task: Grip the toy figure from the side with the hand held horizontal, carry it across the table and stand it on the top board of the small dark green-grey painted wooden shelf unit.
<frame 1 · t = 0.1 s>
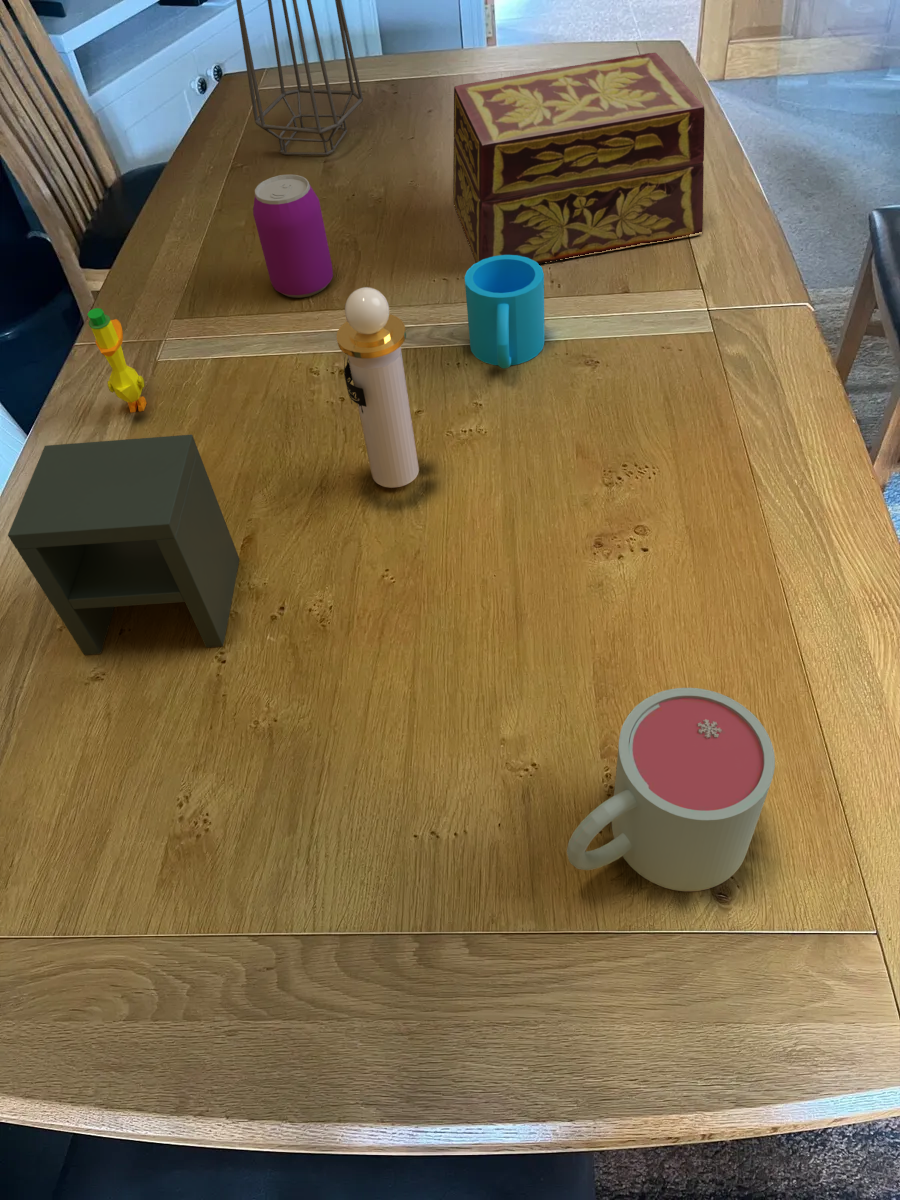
toy figure: (138, 406, 101), on the table
mug: (506, 355, 101), on the table
beverage can: (304, 285, 114), on the table
perfume bottle: (396, 478, 90), on the table
mug 2: (651, 843, 64), on the table
shelf: (164, 605, 82), on the table
decorative box: (572, 221, 119), on the table
geometric lantern: (316, 145, 140), on the table
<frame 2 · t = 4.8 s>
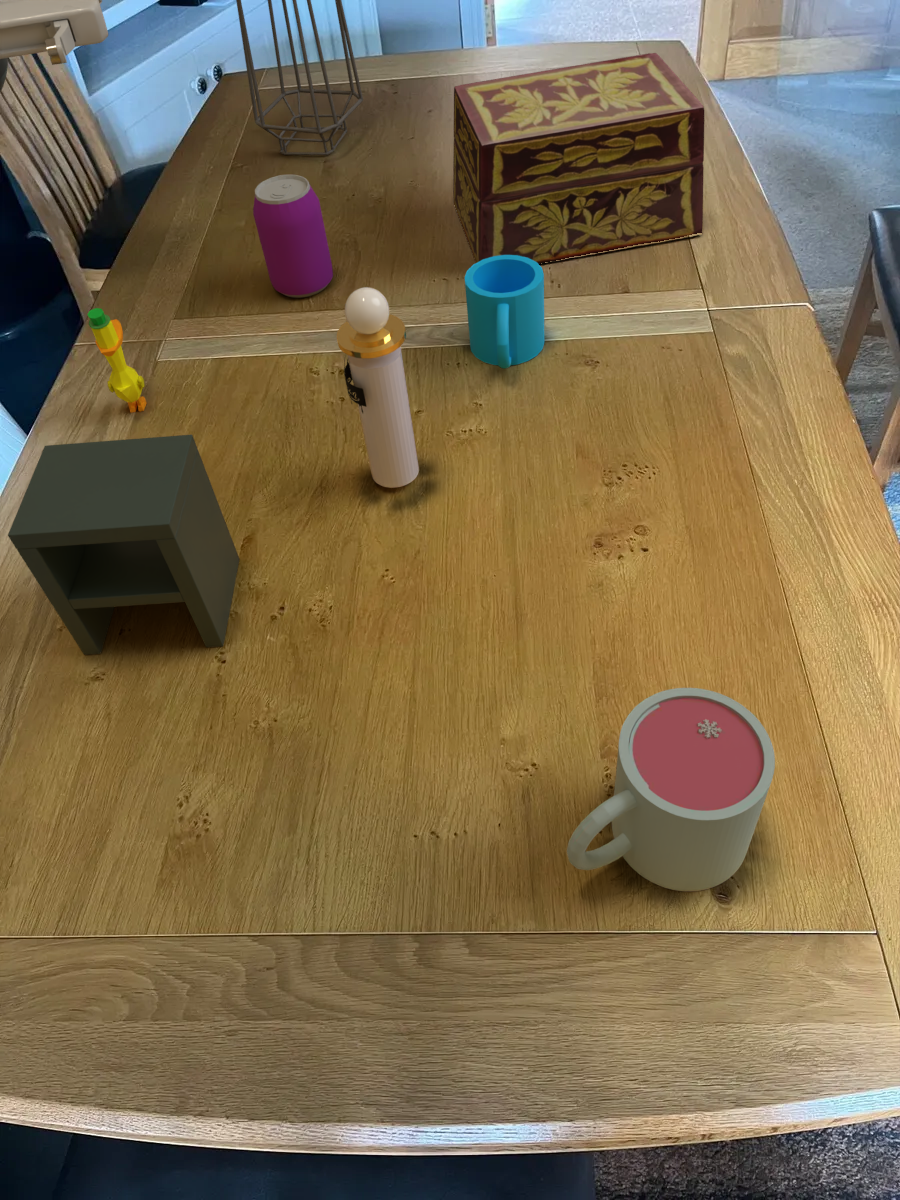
hand: (7, 64, 92), 28 cm above the table, tool horizontal, fingers open, 8 cm apart
nothing on the table moved.
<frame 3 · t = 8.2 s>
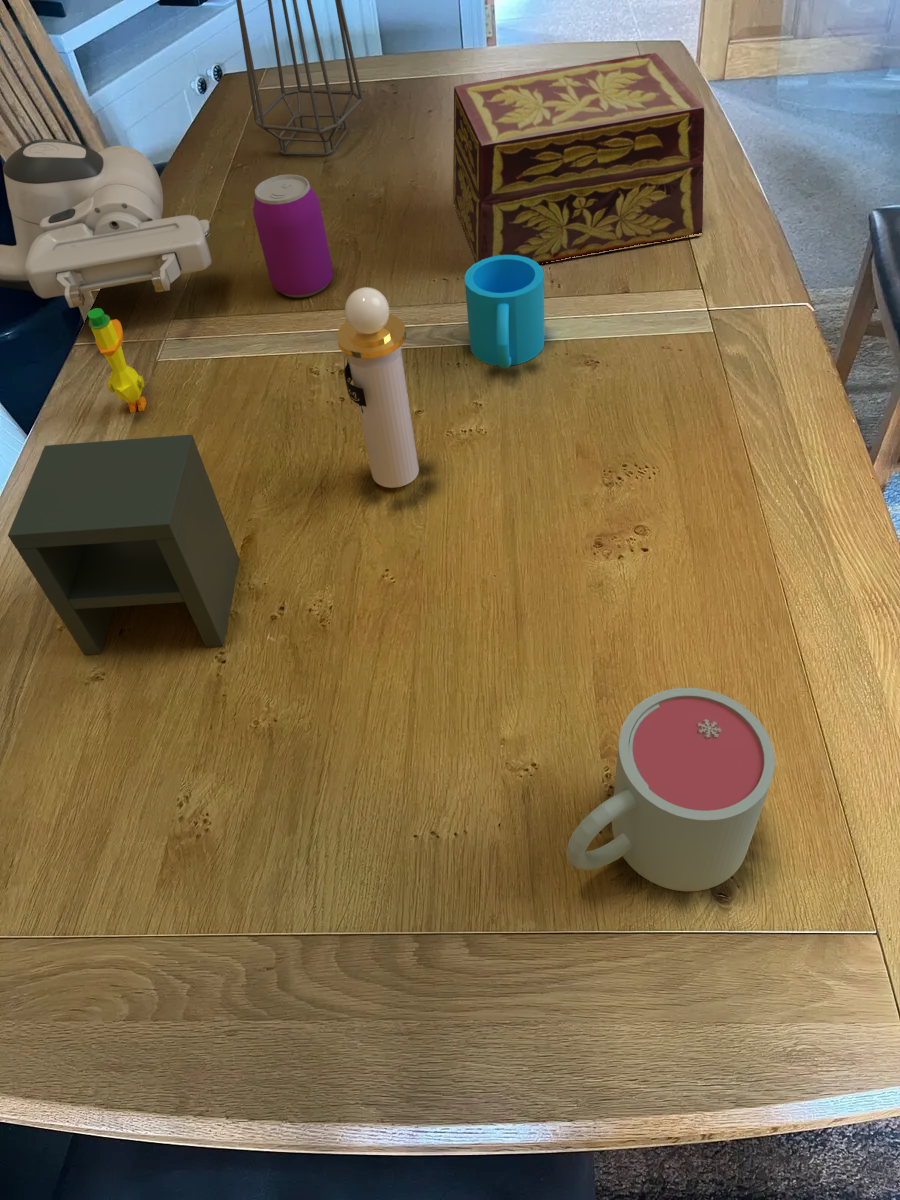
hand: (117, 293, 102), 8 cm above the table, tool horizontal, fingers open, 8 cm apart
nothing on the table moved.
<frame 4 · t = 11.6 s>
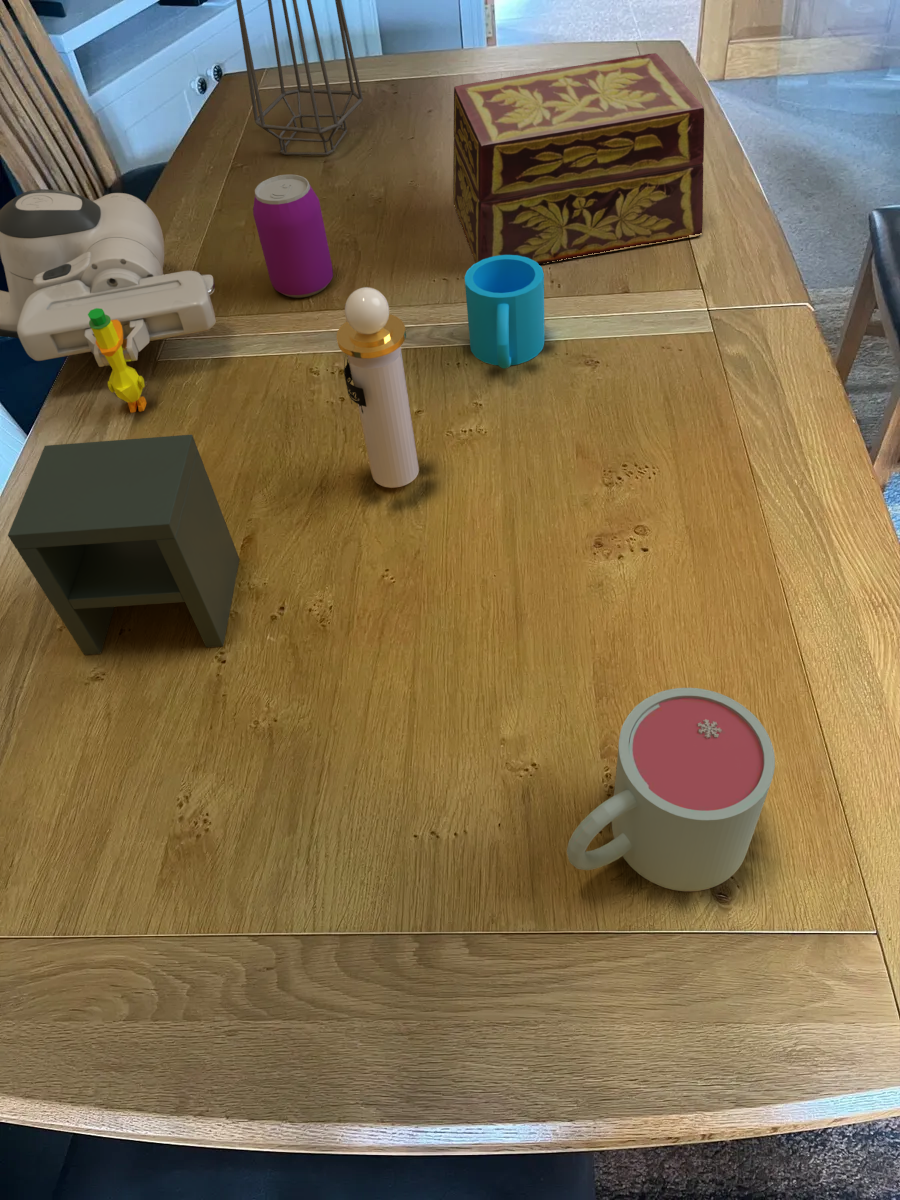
hand: (115, 358, 95), 7 cm above the table, tool horizontal, fingers closed on toy figure
toy figure: (138, 406, 101), on the table, touching gripper
everything else where it was.
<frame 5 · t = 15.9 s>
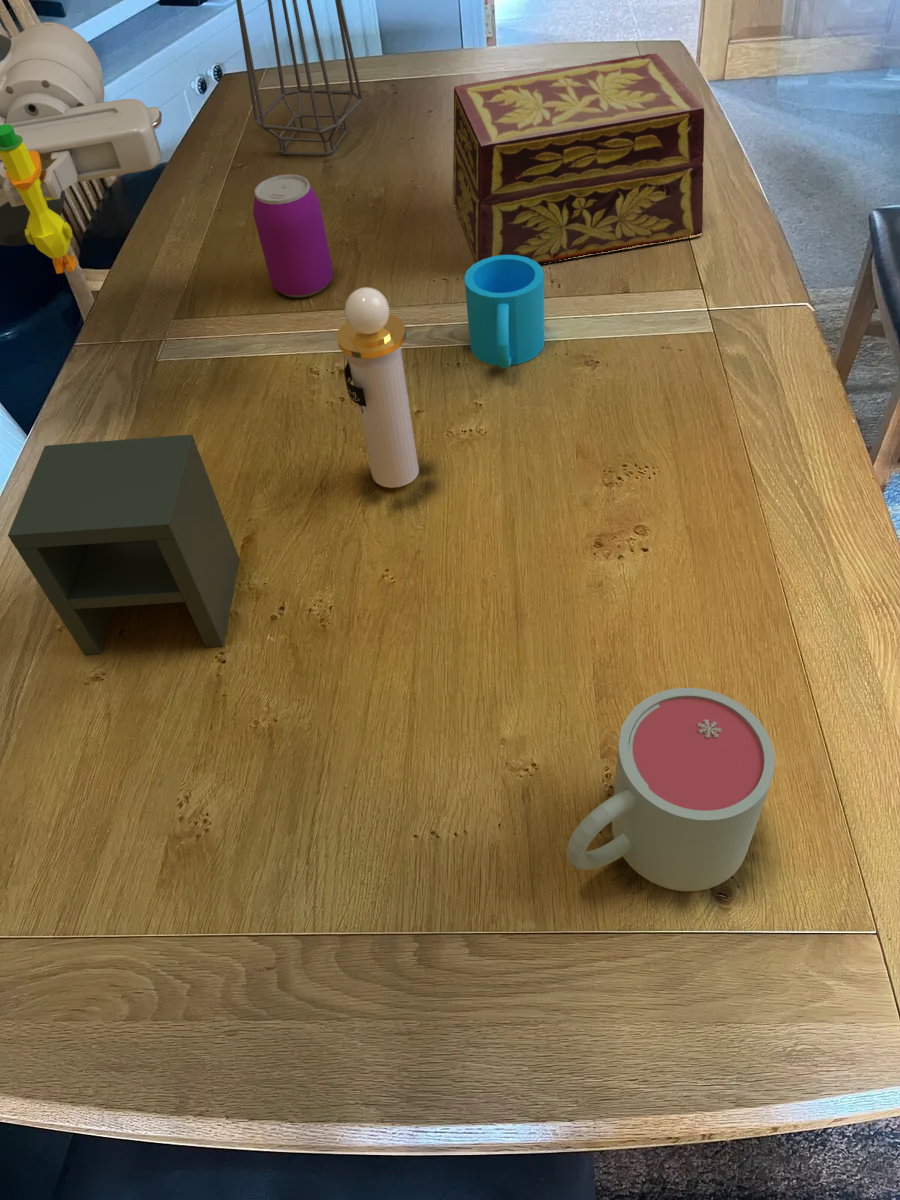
hand: (31, 194, 76), 27 cm above the table, tool horizontal, fingers closed on toy figure
toy figure: (67, 267, 81), point 20 cm above the table, touching gripper
everything else where it was.
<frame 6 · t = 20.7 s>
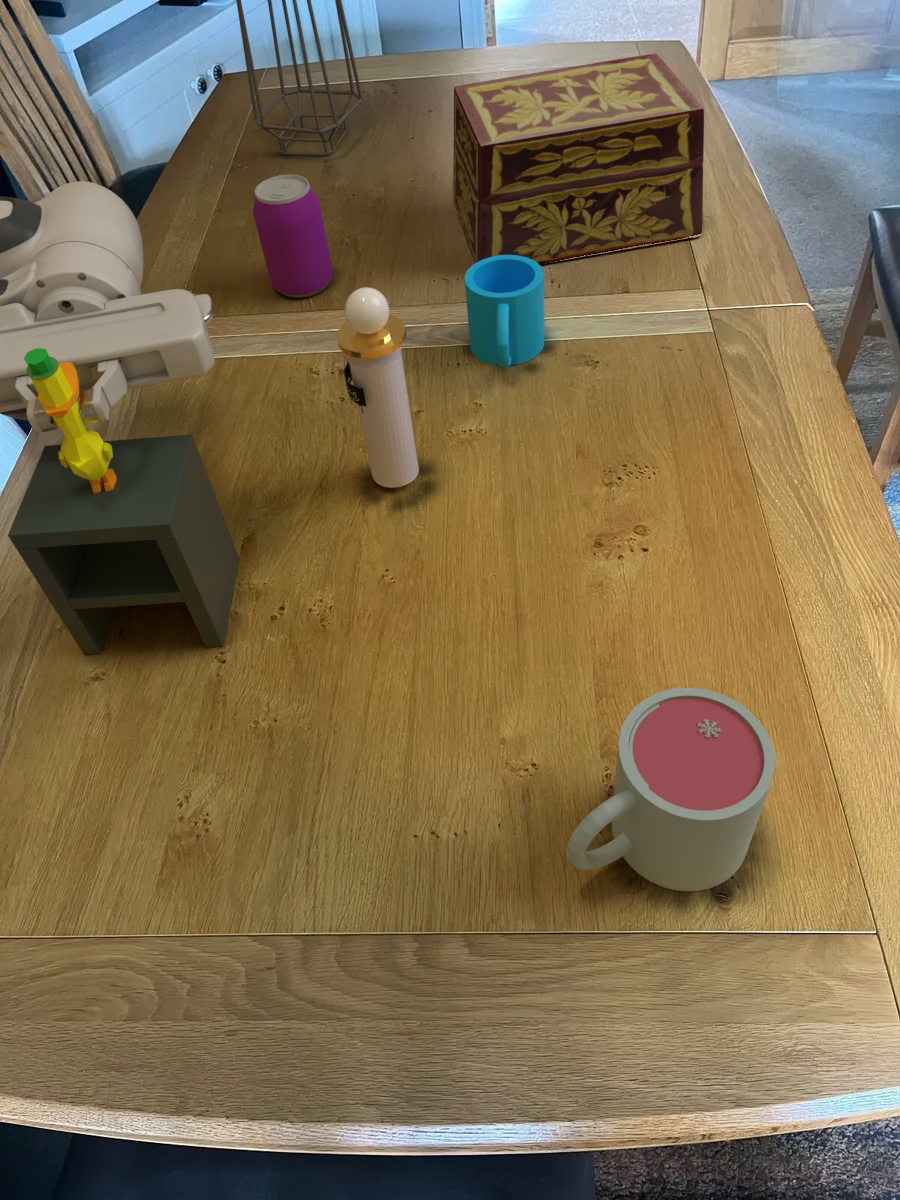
hand: (67, 419, 65), 21 cm above the table, tool horizontal, fingers closed
toy figure: (105, 483, 71), point 14 cm above the table, touching shelf
everything else where it was.
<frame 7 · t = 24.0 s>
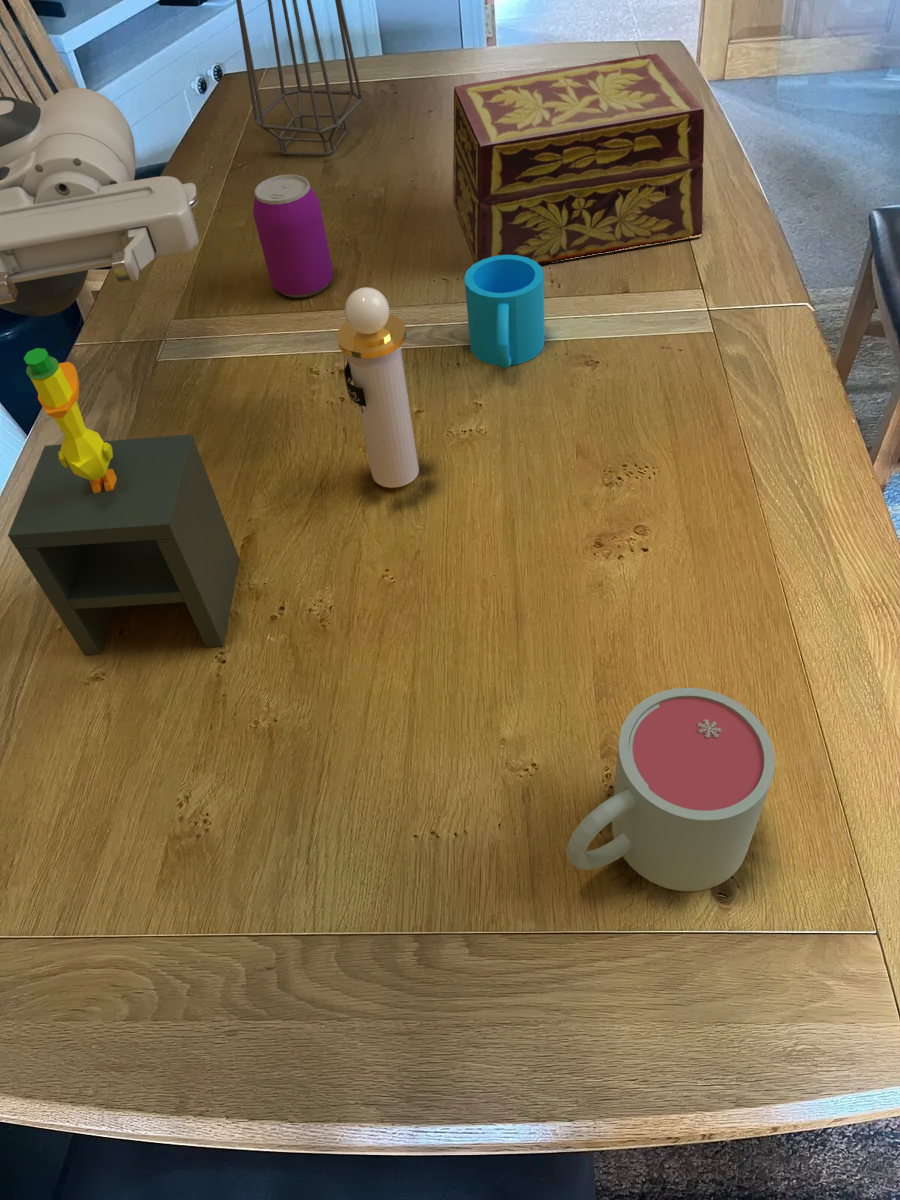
hand: (63, 284, 71), 24 cm above the table, tool horizontal, fingers open, 8 cm apart
nothing on the table moved.
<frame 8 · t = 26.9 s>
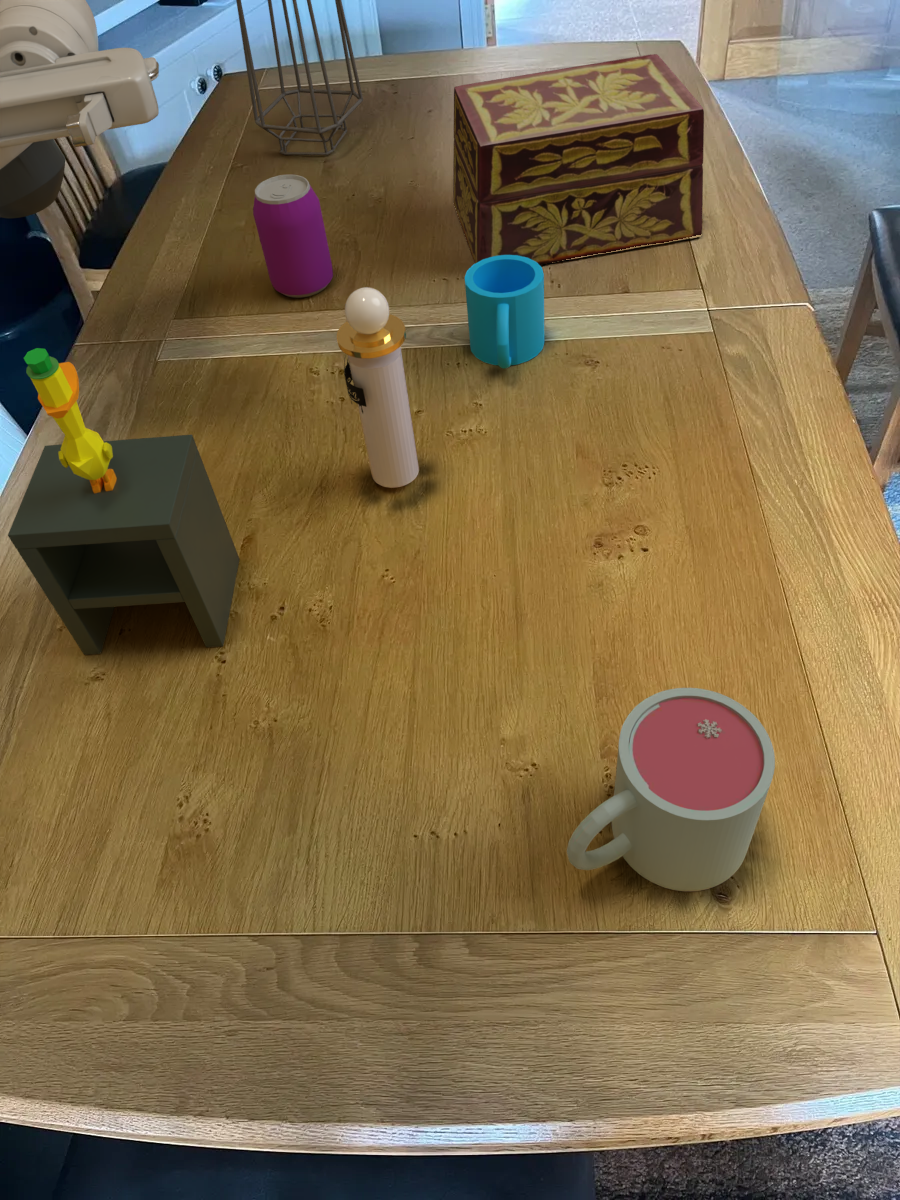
hand: (16, 146, 69), 32 cm above the table, tool horizontal, fingers open, 8 cm apart
nothing on the table moved.
at the end: toy figure inside the target area on the shelf (0.1 cm from its centre), point 14.3 cm above the shelf's base; toy figure tilted 0°; the gripper is holding nothing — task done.
